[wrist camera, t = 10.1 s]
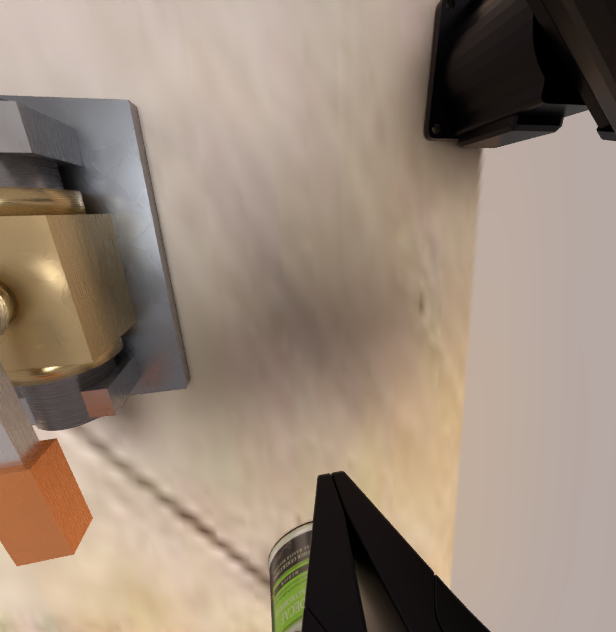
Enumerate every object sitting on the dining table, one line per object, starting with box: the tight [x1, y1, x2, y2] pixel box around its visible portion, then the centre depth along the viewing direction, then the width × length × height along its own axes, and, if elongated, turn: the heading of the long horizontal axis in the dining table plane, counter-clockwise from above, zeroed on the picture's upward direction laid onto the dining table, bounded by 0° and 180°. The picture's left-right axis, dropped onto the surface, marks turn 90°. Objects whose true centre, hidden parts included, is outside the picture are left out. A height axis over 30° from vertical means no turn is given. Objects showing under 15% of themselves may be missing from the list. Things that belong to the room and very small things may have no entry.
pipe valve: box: [0, 95, 190, 431], centre depth 13 cm, size 16×10×7 cm, turn 1°
